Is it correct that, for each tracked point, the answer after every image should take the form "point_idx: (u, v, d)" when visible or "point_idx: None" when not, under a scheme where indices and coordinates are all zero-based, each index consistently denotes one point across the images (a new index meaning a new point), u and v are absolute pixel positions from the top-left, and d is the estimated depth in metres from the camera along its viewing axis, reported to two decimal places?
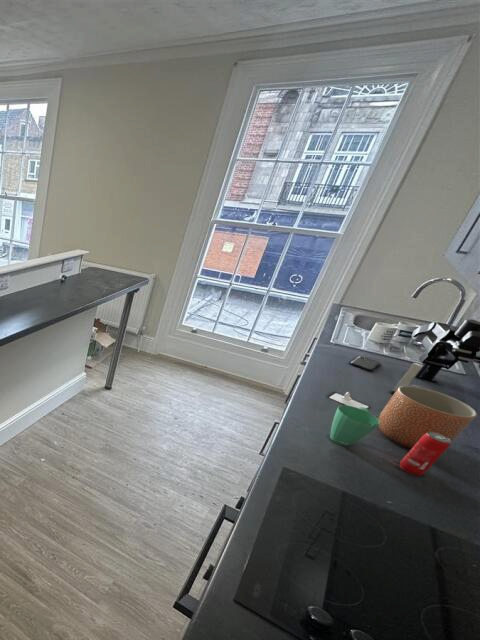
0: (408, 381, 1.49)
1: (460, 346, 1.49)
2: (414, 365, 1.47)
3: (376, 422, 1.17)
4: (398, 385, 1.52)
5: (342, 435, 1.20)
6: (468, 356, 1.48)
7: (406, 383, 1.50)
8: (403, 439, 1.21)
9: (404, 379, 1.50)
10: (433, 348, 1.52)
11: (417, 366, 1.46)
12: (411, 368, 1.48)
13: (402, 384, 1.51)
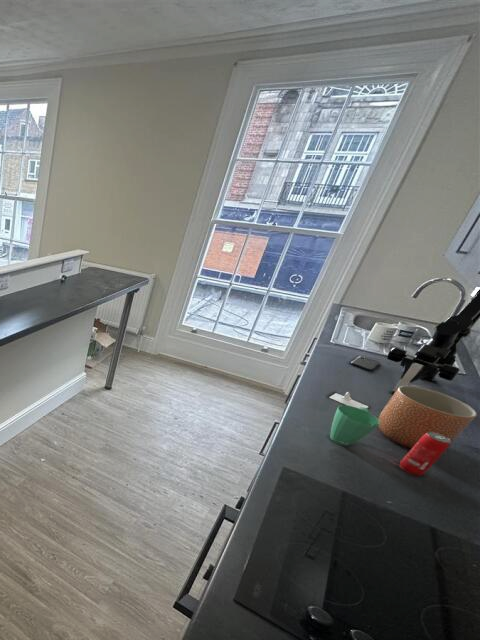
0: (408, 381, 1.49)
1: (417, 355, 1.49)
2: (414, 365, 1.47)
3: (376, 422, 1.17)
4: (398, 385, 1.52)
5: (342, 435, 1.20)
6: None
7: (406, 383, 1.50)
8: (403, 439, 1.21)
9: (404, 379, 1.50)
10: (389, 355, 1.56)
11: (417, 366, 1.46)
12: (411, 368, 1.48)
13: (402, 384, 1.51)
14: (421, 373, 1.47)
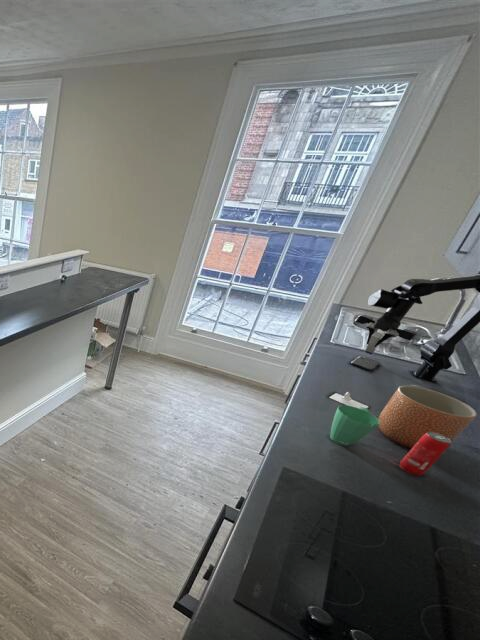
0: (373, 346, 1.69)
1: None
2: (373, 336, 1.65)
3: (376, 422, 1.17)
4: (367, 347, 1.72)
5: (342, 435, 1.20)
6: None
7: (372, 347, 1.70)
8: (403, 439, 1.21)
9: (370, 344, 1.70)
10: None
11: (375, 337, 1.65)
12: (371, 338, 1.66)
13: (370, 347, 1.71)
14: (382, 339, 1.65)
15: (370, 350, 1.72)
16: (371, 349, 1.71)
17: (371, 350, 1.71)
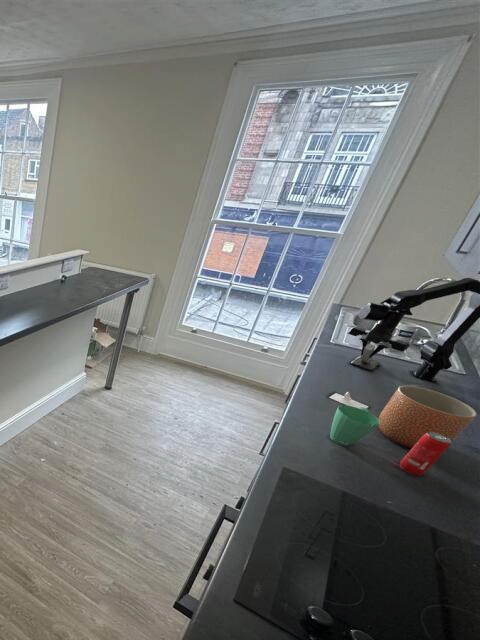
0: (368, 357, 1.71)
1: None
2: (365, 349, 1.68)
3: (376, 422, 1.17)
4: (363, 358, 1.74)
5: (342, 435, 1.20)
6: None
7: (367, 358, 1.72)
8: (403, 439, 1.21)
9: (364, 355, 1.72)
10: None
11: (368, 349, 1.67)
12: (365, 350, 1.69)
13: (365, 358, 1.73)
14: (376, 350, 1.67)
15: (366, 360, 1.74)
16: (366, 360, 1.73)
17: (367, 360, 1.74)
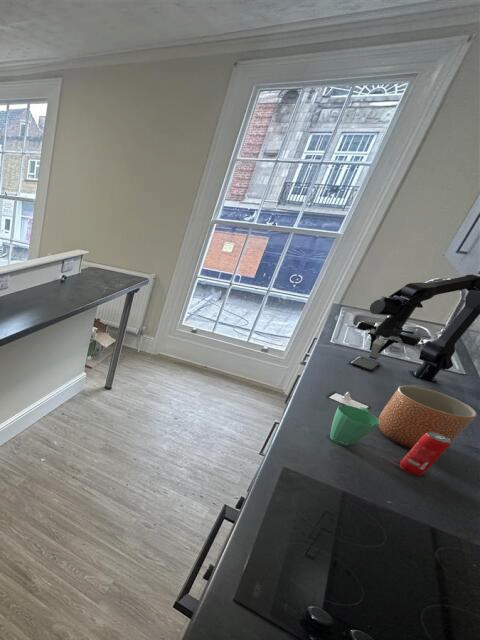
0: (377, 352, 1.65)
1: None
2: (374, 343, 1.61)
3: (376, 422, 1.17)
4: (371, 353, 1.68)
5: (342, 435, 1.20)
6: None
7: (376, 353, 1.65)
8: (403, 439, 1.21)
9: (373, 350, 1.65)
10: None
11: (377, 344, 1.61)
12: (373, 345, 1.62)
13: (373, 353, 1.66)
14: (385, 345, 1.61)
15: (374, 356, 1.67)
16: (375, 355, 1.67)
17: (375, 356, 1.67)
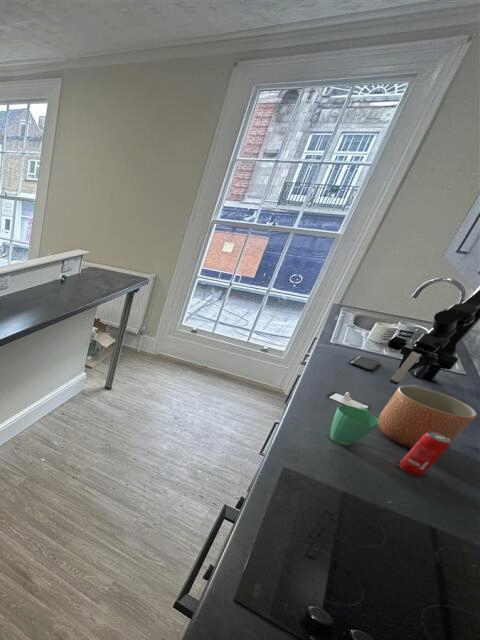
0: (406, 371, 1.50)
1: (416, 344, 1.49)
2: (412, 355, 1.47)
3: (376, 422, 1.17)
4: (396, 374, 1.52)
5: (342, 435, 1.20)
6: None
7: (404, 372, 1.50)
8: (403, 439, 1.21)
9: (402, 368, 1.50)
10: (389, 343, 1.55)
11: (415, 356, 1.46)
12: (409, 358, 1.48)
13: (400, 373, 1.51)
14: (419, 362, 1.47)
15: (398, 378, 1.52)
16: (400, 376, 1.52)
17: (399, 378, 1.52)
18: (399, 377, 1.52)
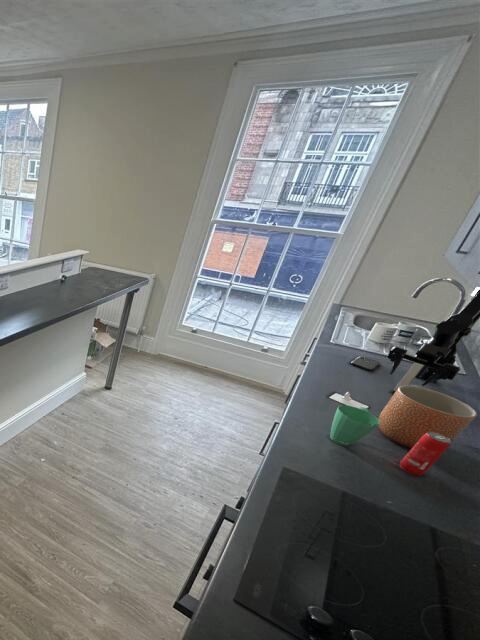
0: (408, 381, 1.49)
1: (417, 354, 1.49)
2: (415, 365, 1.47)
3: (376, 422, 1.17)
4: (398, 385, 1.52)
5: (342, 435, 1.20)
6: (423, 364, 1.49)
7: (406, 383, 1.50)
8: (403, 439, 1.21)
9: (405, 379, 1.50)
10: (389, 354, 1.55)
11: (418, 366, 1.47)
12: (412, 368, 1.48)
13: (402, 384, 1.51)
14: (433, 376, 1.45)
15: None
16: None
17: None
18: None
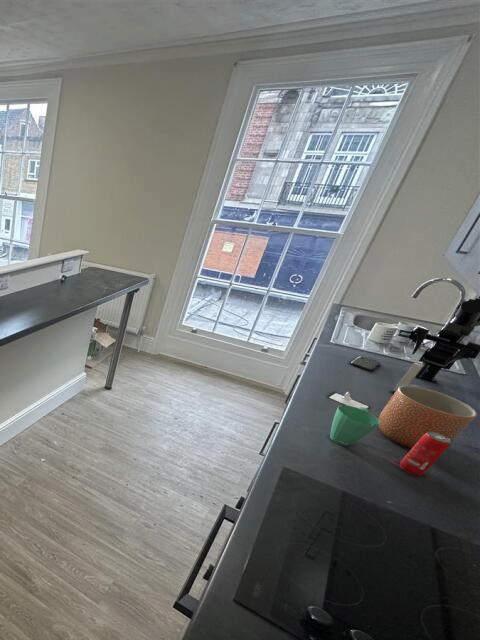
0: (408, 381, 1.49)
1: (440, 334, 1.51)
2: (414, 365, 1.47)
3: (376, 422, 1.17)
4: (398, 385, 1.52)
5: (342, 435, 1.20)
6: (446, 344, 1.50)
7: (406, 383, 1.50)
8: (403, 439, 1.21)
9: (404, 379, 1.50)
10: (411, 334, 1.57)
11: (417, 366, 1.47)
12: (411, 368, 1.48)
13: (402, 384, 1.51)
14: (456, 355, 1.46)
15: None
16: None
17: None
18: None
